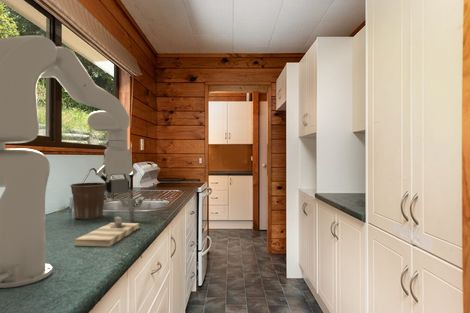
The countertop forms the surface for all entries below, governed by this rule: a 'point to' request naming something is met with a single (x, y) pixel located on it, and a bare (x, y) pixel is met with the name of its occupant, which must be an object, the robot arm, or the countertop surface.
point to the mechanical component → (131, 205)
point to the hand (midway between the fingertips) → (117, 191)
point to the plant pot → (88, 200)
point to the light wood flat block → (107, 234)
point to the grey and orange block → (119, 185)
